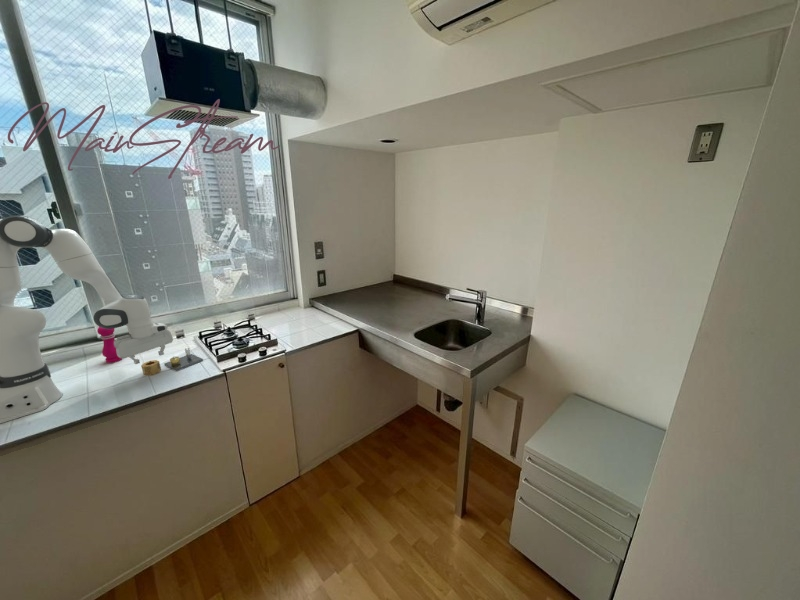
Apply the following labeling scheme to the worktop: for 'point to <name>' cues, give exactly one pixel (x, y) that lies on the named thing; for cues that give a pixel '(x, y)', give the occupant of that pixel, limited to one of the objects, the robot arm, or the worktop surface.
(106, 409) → the worktop surface
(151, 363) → the planet gear
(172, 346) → the worktop surface
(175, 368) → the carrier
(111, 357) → the pepper mill
